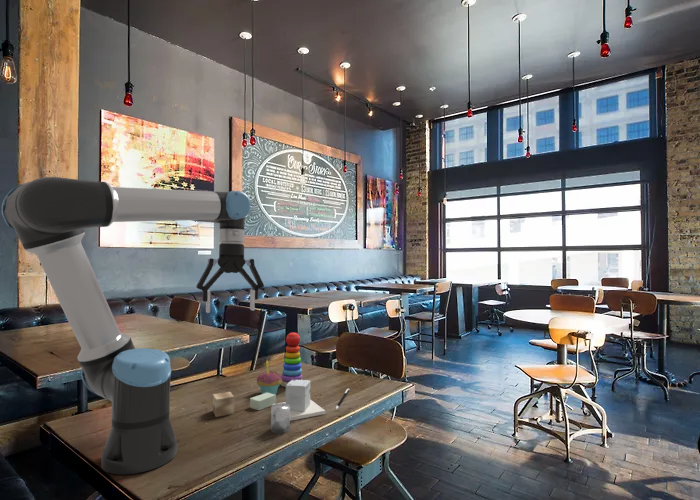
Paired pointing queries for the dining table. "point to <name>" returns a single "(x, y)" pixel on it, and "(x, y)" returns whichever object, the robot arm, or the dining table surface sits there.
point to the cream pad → (306, 411)
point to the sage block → (262, 401)
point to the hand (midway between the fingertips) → (230, 311)
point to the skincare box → (298, 394)
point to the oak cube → (223, 404)
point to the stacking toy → (292, 360)
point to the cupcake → (269, 381)
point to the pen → (342, 399)
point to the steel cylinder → (280, 418)
